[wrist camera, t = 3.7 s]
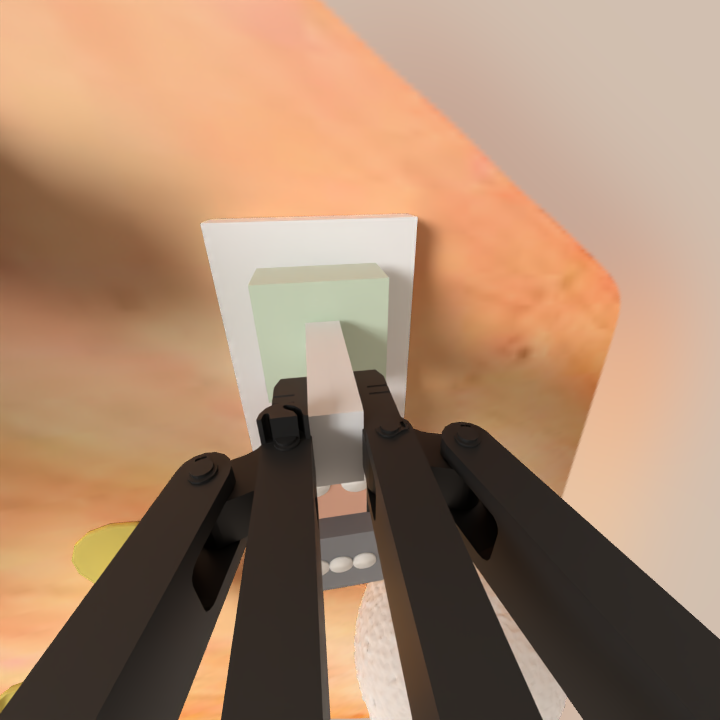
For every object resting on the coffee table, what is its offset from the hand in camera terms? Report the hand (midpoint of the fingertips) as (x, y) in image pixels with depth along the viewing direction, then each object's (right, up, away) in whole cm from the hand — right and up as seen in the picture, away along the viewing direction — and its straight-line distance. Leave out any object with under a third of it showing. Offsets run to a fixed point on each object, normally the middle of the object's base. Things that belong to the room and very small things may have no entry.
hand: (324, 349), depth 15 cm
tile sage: (0, +2, +3) cm, 4 cm away
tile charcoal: (0, -13, +10) cm, 16 cm away
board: (-1, -4, +10) cm, 11 cm away
